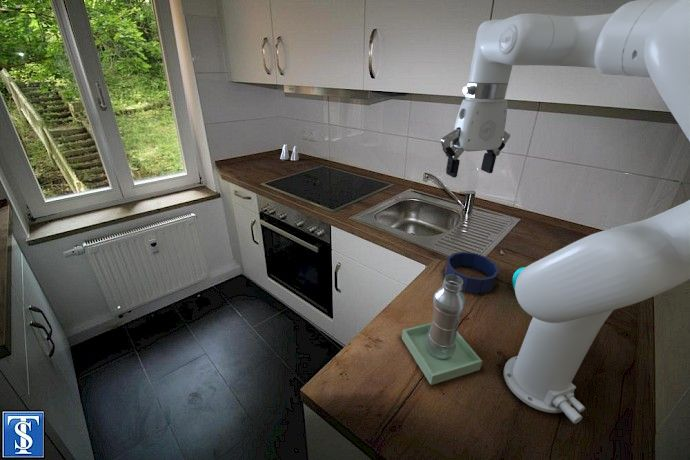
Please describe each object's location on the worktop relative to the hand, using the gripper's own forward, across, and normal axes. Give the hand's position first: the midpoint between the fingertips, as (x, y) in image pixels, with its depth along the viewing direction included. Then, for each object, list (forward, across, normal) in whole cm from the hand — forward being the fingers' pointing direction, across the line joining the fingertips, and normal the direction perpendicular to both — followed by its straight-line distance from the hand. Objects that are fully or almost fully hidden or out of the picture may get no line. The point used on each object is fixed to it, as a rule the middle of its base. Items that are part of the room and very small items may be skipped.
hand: (469, 173), depth 72 cm
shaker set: (+38, -17, +154) cm, 160 cm away
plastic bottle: (+36, -13, -17) cm, 41 cm away
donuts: (+36, +24, -8) cm, 45 cm away
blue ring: (+36, +13, +5) cm, 39 cm away
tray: (+36, -13, -17) cm, 42 cm away
